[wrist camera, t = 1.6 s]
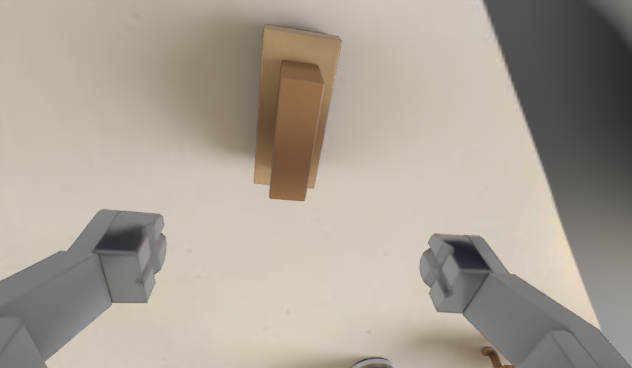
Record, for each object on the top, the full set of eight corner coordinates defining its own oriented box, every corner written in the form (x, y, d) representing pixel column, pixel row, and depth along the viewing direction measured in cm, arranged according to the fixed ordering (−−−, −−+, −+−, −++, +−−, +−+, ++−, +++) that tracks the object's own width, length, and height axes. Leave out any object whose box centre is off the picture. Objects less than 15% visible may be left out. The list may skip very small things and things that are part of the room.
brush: (266, 19, 17) (259, 41, 12) (334, 31, 17) (354, 55, 12) (256, 160, 21) (249, 216, 16) (310, 166, 22) (318, 221, 17)
